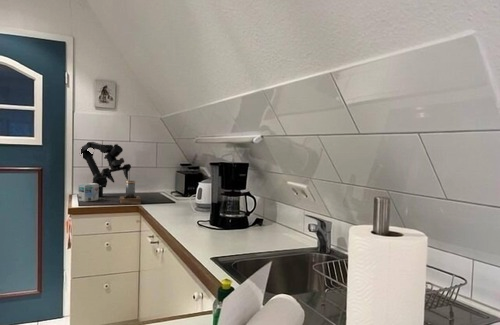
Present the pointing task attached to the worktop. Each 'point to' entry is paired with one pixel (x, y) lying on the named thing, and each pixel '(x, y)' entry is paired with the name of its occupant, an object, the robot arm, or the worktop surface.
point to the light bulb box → (88, 192)
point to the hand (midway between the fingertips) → (120, 180)
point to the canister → (130, 189)
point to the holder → (130, 200)
